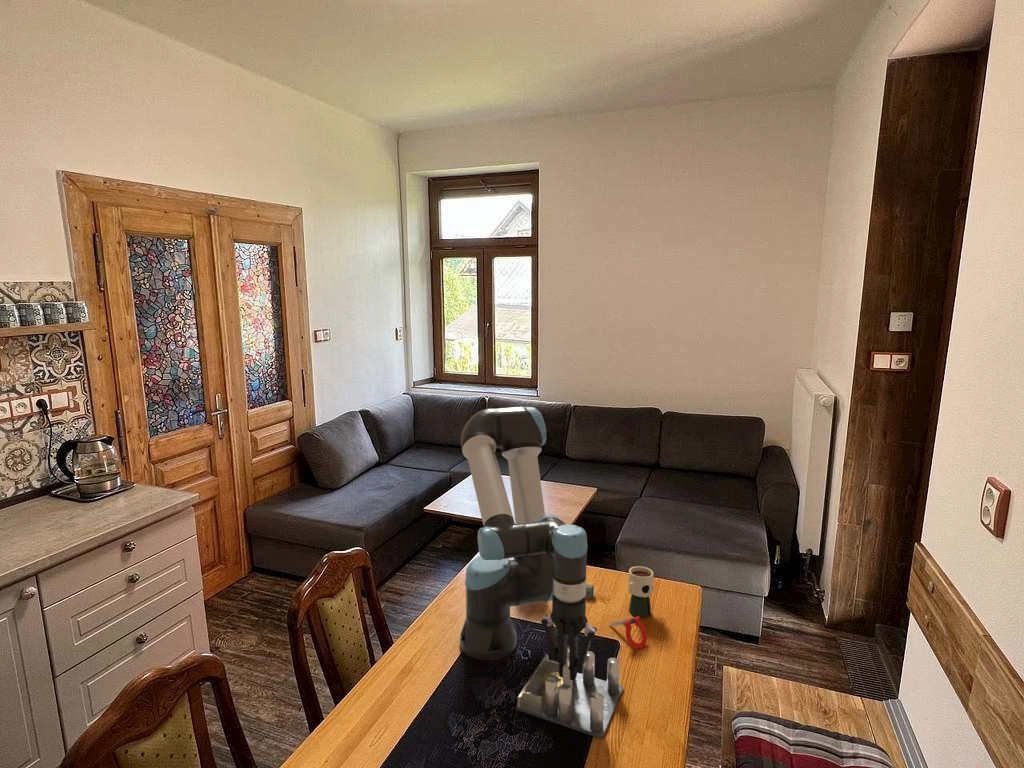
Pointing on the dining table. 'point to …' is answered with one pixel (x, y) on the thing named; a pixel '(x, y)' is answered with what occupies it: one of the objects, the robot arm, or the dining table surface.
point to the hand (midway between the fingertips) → (567, 690)
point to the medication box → (589, 591)
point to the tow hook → (628, 631)
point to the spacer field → (574, 696)
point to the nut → (552, 674)
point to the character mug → (640, 590)
